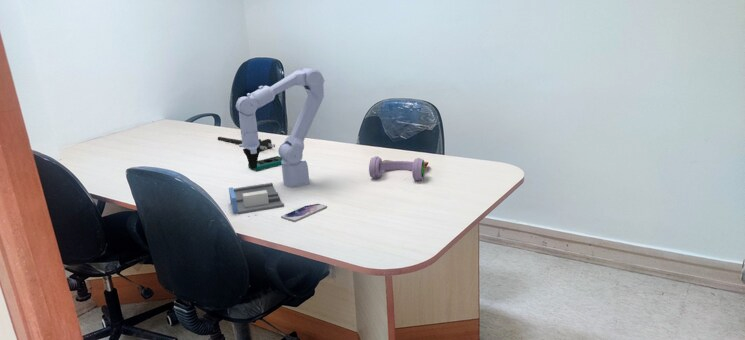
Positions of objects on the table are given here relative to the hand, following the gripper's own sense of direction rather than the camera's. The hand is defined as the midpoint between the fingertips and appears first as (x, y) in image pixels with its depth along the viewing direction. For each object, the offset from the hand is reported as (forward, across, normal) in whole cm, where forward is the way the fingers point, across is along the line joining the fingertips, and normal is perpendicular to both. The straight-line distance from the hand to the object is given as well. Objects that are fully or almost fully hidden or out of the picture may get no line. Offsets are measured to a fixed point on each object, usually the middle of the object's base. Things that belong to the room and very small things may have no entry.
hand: (253, 168), depth 196 cm
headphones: (+10, +4, +55) cm, 56 cm away
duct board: (+9, +8, -1) cm, 12 cm away
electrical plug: (+10, -70, +4) cm, 71 cm away
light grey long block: (+9, +14, 0) cm, 16 cm away
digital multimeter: (+10, -31, +9) cm, 34 cm away
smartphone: (+10, +26, +12) cm, 30 cm away
